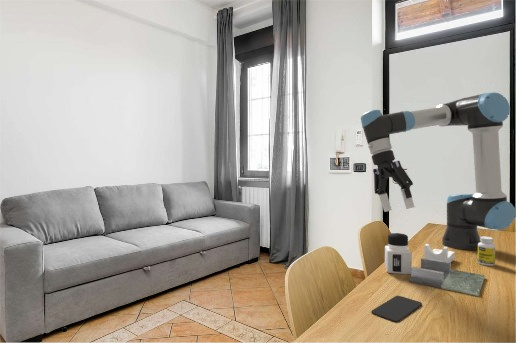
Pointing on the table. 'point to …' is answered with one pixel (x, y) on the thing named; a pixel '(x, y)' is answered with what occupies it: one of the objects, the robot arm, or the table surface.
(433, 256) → the bracket
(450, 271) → the board
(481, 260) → the supplement bottle
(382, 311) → the phone
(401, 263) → the container
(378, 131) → the robot arm
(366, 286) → the table surface
